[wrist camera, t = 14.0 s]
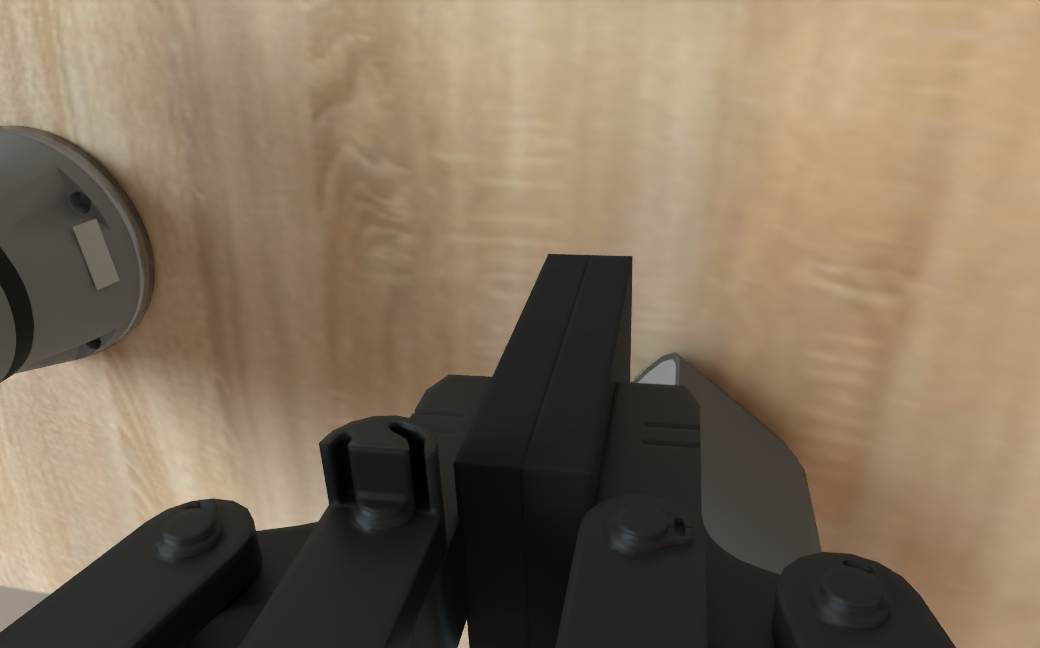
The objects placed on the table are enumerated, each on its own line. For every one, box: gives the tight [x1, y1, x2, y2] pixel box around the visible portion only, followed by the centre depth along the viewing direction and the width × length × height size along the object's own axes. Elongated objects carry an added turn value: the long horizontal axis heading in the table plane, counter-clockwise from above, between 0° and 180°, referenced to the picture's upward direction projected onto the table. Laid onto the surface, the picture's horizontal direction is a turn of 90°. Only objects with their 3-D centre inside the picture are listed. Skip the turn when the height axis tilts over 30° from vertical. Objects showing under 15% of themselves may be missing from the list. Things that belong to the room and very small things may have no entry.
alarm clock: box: [632, 352, 822, 575], centre depth 45 cm, size 16×11×16 cm
